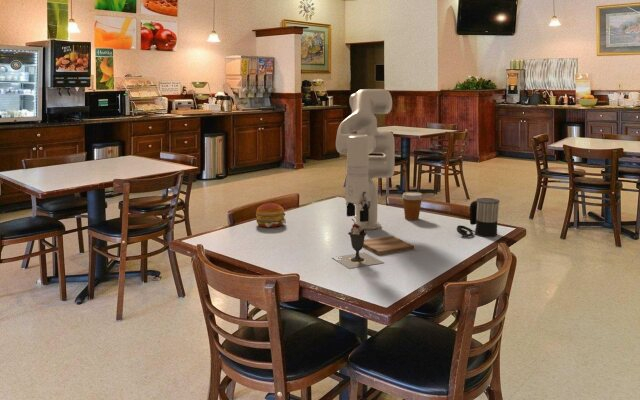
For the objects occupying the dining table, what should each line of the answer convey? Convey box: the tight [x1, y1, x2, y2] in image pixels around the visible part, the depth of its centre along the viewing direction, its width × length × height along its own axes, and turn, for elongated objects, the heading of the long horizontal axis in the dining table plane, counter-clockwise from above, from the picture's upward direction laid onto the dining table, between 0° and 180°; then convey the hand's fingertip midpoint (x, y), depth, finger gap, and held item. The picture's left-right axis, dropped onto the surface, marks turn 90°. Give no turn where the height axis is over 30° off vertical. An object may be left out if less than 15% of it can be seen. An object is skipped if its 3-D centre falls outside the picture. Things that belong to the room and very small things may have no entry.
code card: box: [336, 251, 385, 269], centre depth 208 cm, size 14×14×1 cm
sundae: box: [348, 218, 367, 262], centre depth 207 cm, size 7×7×15 cm
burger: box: [255, 202, 287, 228], centre depth 259 cm, size 14×14×10 cm
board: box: [363, 235, 415, 256], centre depth 225 cm, size 16×16×2 cm
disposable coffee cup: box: [401, 191, 423, 221], centre depth 268 cm, size 10×10×12 cm
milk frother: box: [456, 197, 500, 238], centre depth 239 cm, size 14×16×15 cm
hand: (357, 218), depth 205 cm, fingers open, 9 cm apart
